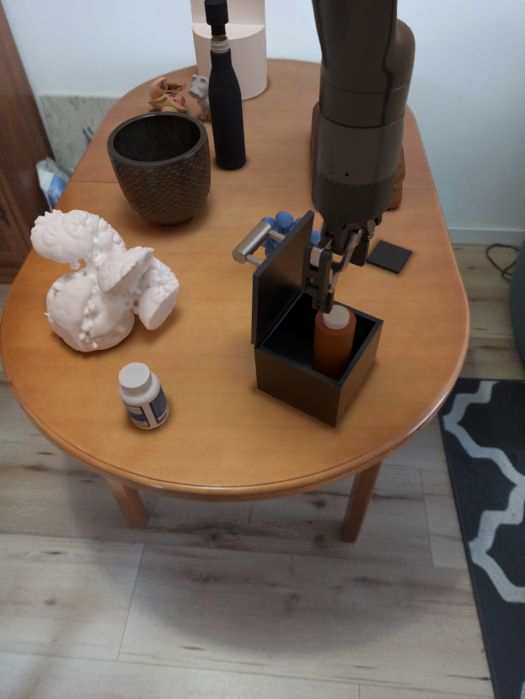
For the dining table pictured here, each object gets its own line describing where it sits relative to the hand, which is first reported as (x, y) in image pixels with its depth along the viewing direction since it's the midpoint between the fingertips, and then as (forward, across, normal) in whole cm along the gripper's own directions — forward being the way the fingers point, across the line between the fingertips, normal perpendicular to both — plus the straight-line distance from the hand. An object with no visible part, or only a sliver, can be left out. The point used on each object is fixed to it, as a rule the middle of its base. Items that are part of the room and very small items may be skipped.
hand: (339, 285), depth 58 cm
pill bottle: (+20, -18, +19) cm, 33 cm away
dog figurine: (+20, +54, +58) cm, 81 cm away
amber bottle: (+19, 0, 0) cm, 19 cm away
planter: (+20, +20, +44) cm, 52 cm away
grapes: (+20, +16, +16) cm, 30 cm away
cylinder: (+20, +68, +63) cm, 95 cm away
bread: (+20, +50, +20) cm, 57 cm away
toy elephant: (+20, +50, +69) cm, 87 cm away
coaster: (+20, +28, +3) cm, 35 cm away
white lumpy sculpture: (+20, -6, +35) cm, 41 cm away
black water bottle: (+20, +40, +44) cm, 62 cm away
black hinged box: (+20, 0, +2) cm, 20 cm away
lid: (+3, 0, +7) cm, 8 cm away
